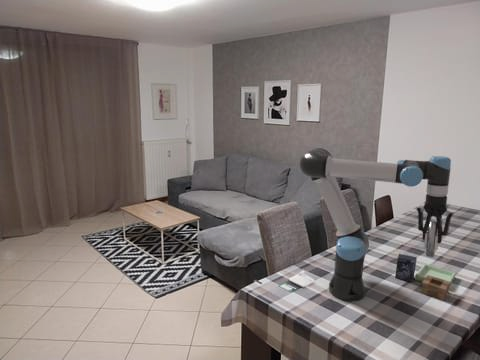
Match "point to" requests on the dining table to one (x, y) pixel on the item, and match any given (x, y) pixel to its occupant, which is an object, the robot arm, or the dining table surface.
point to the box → (405, 267)
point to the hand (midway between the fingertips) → (430, 248)
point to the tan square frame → (435, 287)
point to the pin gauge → (431, 238)
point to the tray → (434, 273)
